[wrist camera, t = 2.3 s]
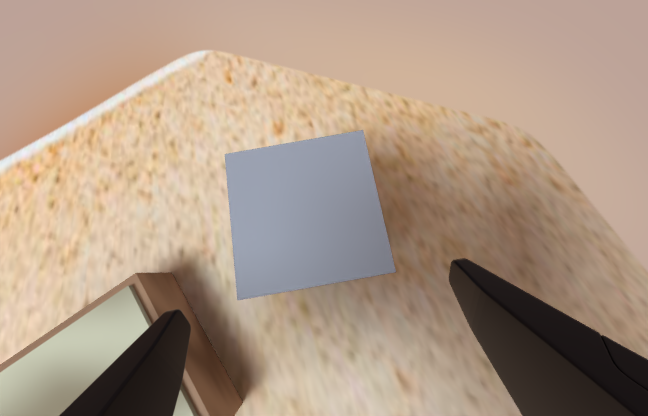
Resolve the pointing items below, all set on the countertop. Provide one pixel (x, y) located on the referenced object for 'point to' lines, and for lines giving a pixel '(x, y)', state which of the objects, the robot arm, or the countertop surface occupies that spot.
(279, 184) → the slate brick
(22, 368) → the walnut base block
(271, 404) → the countertop surface
